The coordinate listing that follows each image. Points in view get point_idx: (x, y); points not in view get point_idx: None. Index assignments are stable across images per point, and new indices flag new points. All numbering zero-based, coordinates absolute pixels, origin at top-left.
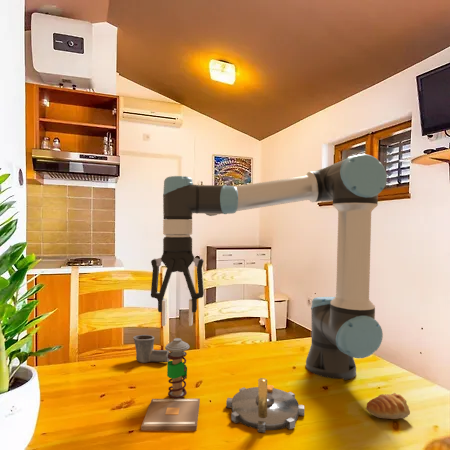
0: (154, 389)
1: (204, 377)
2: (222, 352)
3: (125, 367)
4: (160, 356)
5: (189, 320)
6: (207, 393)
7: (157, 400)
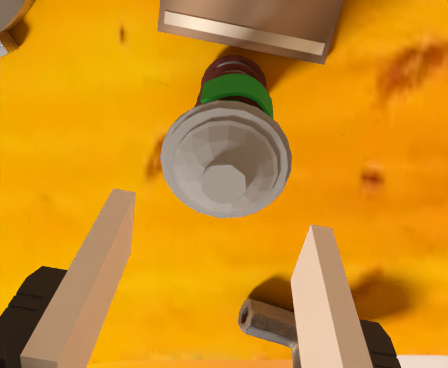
0: (304, 149)
1: (137, 194)
2: None
3: (376, 299)
4: (271, 315)
5: (119, 214)
6: (131, 87)
7: (307, 45)
